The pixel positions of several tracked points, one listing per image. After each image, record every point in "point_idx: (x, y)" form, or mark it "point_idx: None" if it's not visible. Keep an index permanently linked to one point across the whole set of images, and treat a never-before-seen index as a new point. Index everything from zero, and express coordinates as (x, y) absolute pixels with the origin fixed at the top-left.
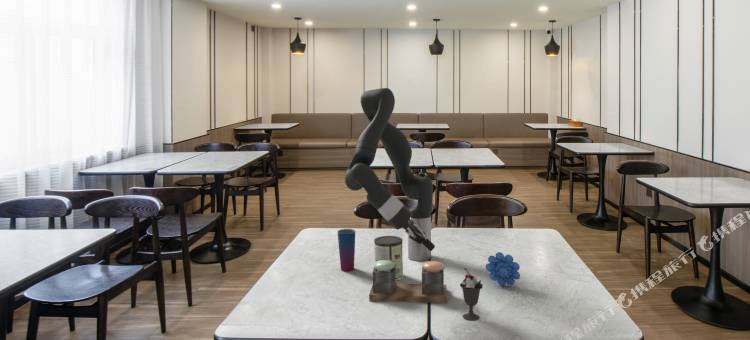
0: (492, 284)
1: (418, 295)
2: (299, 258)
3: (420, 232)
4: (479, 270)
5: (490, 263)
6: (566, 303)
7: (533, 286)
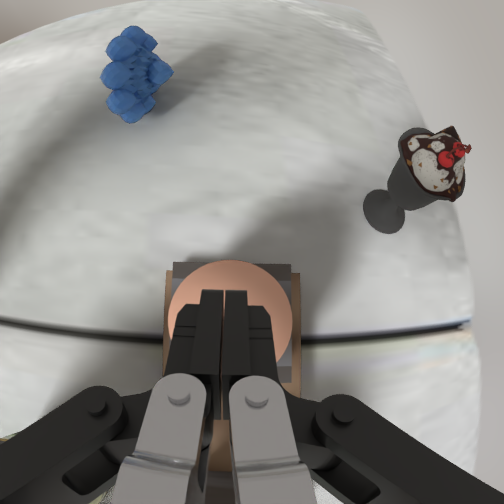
0: (131, 131)
1: (291, 383)
2: None
3: (313, 500)
4: (28, 166)
5: (119, 88)
6: (262, 28)
7: (161, 57)
